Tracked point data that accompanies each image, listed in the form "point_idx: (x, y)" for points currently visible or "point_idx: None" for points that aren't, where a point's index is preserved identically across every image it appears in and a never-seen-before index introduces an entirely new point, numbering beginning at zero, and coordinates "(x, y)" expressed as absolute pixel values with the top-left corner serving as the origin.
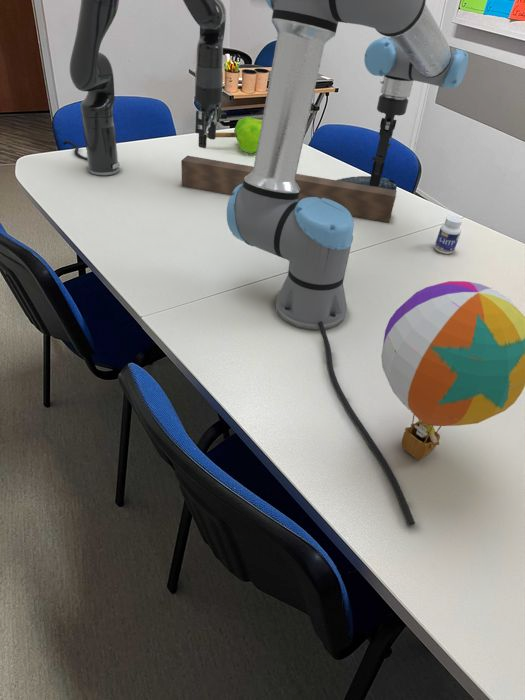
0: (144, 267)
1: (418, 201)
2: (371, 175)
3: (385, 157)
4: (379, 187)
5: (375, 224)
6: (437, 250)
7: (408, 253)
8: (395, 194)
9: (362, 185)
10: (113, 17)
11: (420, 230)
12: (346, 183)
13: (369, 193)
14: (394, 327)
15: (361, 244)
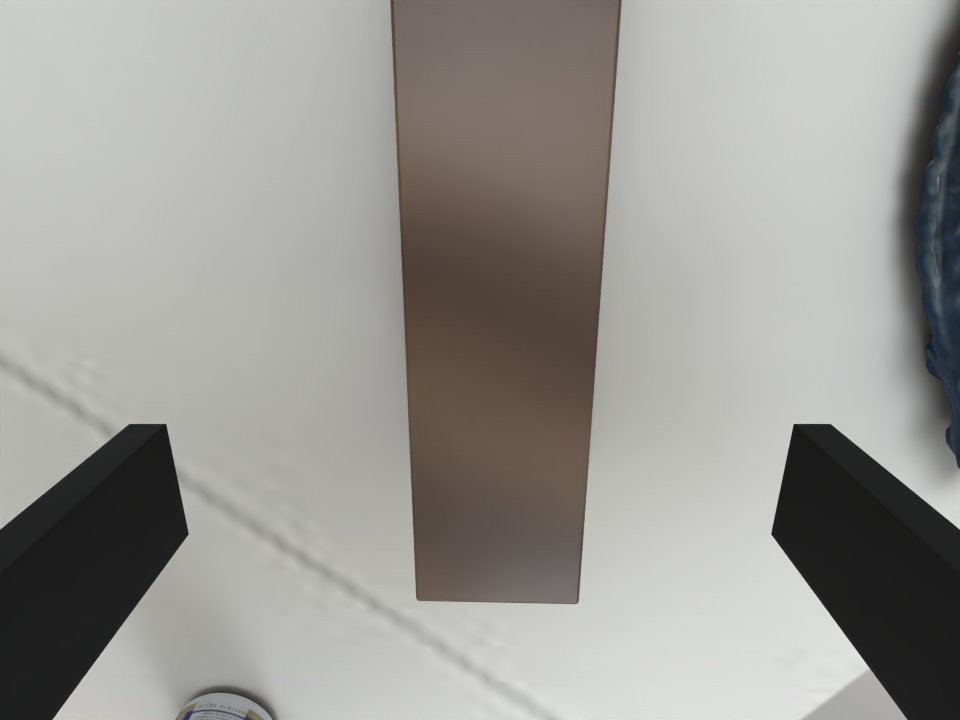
0: None
1: None
2: (44, 501)
3: (893, 694)
4: (956, 395)
5: (376, 386)
6: (187, 704)
7: None
8: (466, 599)
9: (573, 287)
10: None
11: (419, 630)
12: (559, 83)
13: (409, 374)
14: None
15: (20, 325)
